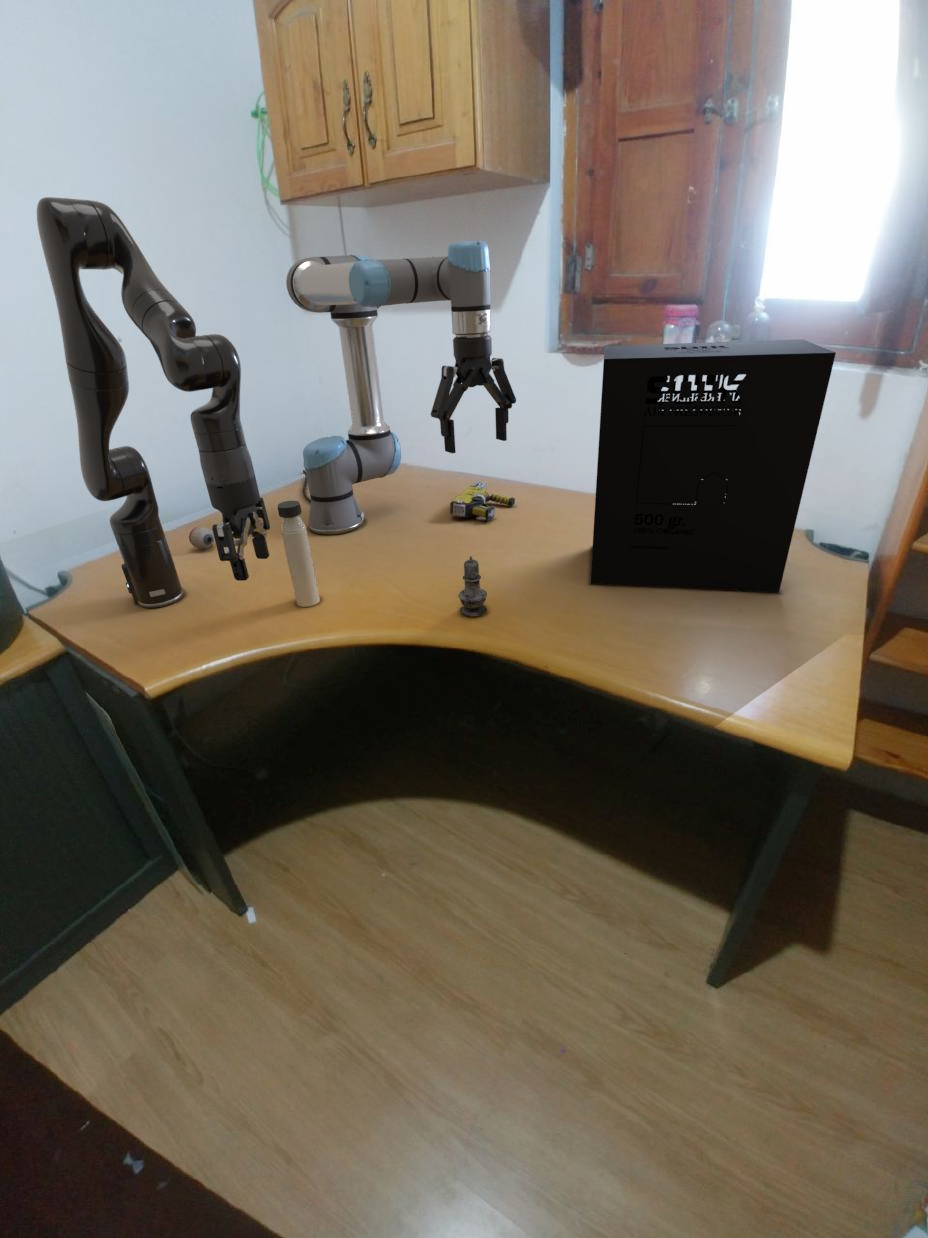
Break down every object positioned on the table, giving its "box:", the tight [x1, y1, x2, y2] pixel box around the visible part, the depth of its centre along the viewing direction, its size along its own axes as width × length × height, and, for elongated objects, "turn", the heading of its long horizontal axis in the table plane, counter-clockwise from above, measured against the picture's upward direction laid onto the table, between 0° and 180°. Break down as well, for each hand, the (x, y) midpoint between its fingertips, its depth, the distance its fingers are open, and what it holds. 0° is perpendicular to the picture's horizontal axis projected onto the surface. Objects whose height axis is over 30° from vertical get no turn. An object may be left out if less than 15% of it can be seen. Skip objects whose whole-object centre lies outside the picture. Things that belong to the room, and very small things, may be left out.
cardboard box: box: [590, 338, 837, 594], centre depth 124 cm, size 38×20×45 cm, turn 78°
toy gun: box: [449, 480, 516, 522], centre depth 174 cm, size 5×24×15 cm
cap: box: [276, 500, 303, 519], centre depth 120 cm, size 4×4×2 cm
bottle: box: [280, 515, 321, 608], centre depth 125 cm, size 5×5×22 cm
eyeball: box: [188, 525, 215, 550], centre depth 158 cm, size 6×6×6 cm
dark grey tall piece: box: [457, 555, 488, 617], centre depth 120 cm, size 6×6×12 cm
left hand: (253, 568), depth 103 cm, fingers open, 8 cm apart
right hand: (476, 445), depth 127 cm, fingers open, 13 cm apart
